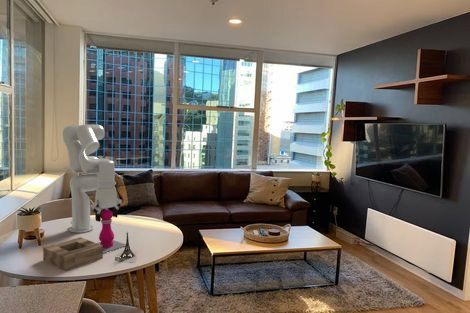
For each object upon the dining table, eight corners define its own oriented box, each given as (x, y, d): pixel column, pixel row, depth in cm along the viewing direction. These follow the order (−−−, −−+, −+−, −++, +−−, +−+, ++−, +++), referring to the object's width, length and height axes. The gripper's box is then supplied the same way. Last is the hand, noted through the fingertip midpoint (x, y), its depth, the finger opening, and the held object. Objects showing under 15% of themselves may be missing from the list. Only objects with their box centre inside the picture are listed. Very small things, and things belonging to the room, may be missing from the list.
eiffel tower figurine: (117, 252, 172) (117, 225, 170) (138, 251, 174) (138, 225, 172) (113, 264, 157) (112, 235, 156) (136, 263, 159) (136, 234, 158)
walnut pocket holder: (43, 260, 158) (43, 247, 158) (80, 248, 173) (80, 237, 172) (65, 270, 148) (64, 257, 147) (102, 258, 163) (102, 245, 162)
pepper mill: (98, 244, 179) (98, 205, 177) (113, 242, 182) (113, 204, 180) (99, 248, 172) (98, 209, 170) (114, 247, 175) (114, 208, 173)
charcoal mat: (86, 247, 175) (86, 246, 175) (110, 239, 187) (110, 239, 187) (103, 254, 167) (103, 253, 167) (127, 246, 179) (127, 245, 179)
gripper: (116, 182, 183) (116, 214, 185) (86, 186, 169) (86, 221, 171) (125, 184, 179) (125, 216, 181) (95, 188, 165) (95, 224, 166)
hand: (106, 219), depth 176 cm, fingers open, 9 cm apart
